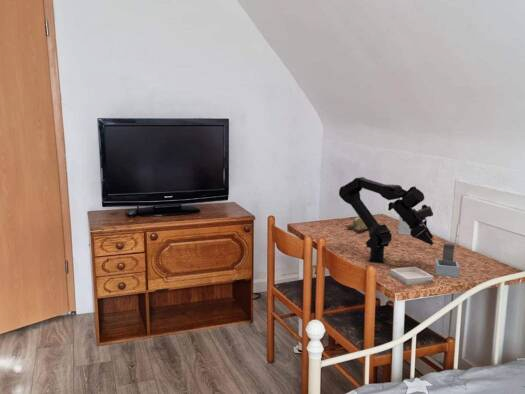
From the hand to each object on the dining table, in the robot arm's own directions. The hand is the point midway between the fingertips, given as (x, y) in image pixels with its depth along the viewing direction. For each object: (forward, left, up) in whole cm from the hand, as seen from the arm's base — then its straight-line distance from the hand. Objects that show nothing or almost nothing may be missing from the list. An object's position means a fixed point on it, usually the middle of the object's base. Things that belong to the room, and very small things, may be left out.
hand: (432, 241), depth 202 cm
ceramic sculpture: (-57, -32, -13) cm, 67 cm away
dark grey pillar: (0, +6, -13) cm, 14 cm away
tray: (+12, -8, -13) cm, 19 cm away
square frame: (0, +6, -13) cm, 14 cm away
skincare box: (-57, -10, -13) cm, 59 cm away
